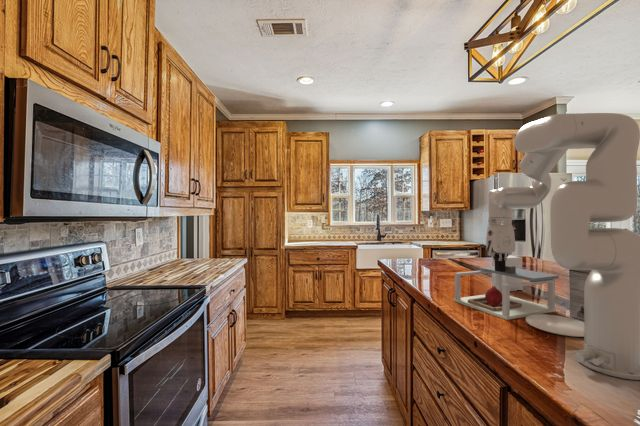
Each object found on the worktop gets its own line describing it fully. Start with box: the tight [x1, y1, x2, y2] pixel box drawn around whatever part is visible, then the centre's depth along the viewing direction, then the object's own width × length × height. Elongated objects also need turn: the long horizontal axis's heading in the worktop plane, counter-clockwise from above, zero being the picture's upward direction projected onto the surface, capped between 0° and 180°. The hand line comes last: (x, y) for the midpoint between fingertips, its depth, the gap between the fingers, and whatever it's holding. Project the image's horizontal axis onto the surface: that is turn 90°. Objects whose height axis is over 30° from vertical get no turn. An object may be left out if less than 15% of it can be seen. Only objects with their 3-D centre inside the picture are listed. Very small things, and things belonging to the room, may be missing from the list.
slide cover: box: [478, 265, 560, 281], centre depth 119 cm, size 13×22×4 cm, turn 20°
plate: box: [525, 313, 584, 338], centre depth 95 cm, size 17×17×1 cm
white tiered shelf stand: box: [453, 270, 557, 321], centre depth 116 cm, size 24×23×11 cm
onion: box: [484, 285, 502, 307], centre depth 115 cm, size 6×6×8 cm
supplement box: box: [491, 255, 524, 292], centre depth 142 cm, size 9×9×15 cm
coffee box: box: [568, 269, 592, 321], centre depth 103 cm, size 9×6×16 cm
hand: (500, 271), depth 116 cm, fingers closed
